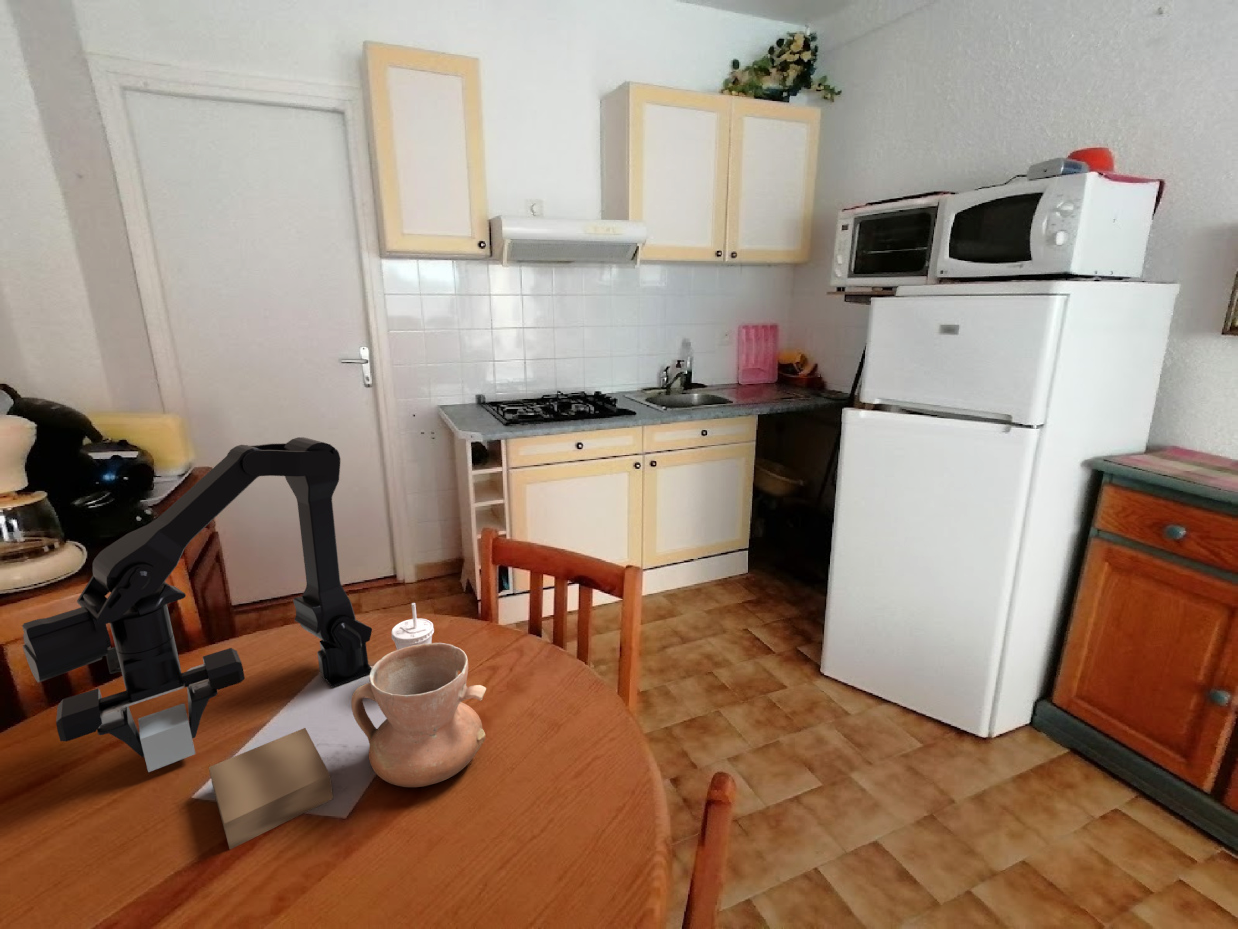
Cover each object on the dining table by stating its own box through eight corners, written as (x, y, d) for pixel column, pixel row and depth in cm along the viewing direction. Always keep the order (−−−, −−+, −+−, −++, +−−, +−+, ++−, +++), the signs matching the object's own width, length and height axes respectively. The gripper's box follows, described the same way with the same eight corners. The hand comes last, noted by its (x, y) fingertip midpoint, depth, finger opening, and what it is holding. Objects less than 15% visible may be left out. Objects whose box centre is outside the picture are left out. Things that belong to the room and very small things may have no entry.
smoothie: (425, 696, 93) (418, 615, 90) (388, 690, 95) (379, 611, 91) (445, 672, 99) (438, 596, 96) (410, 667, 101) (402, 592, 97)
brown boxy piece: (308, 752, 82) (305, 727, 81) (333, 801, 74) (329, 774, 73) (214, 793, 75) (208, 767, 74) (230, 852, 67) (224, 823, 66)
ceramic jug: (505, 725, 87) (498, 638, 83) (473, 805, 73) (464, 704, 69) (385, 720, 88) (375, 634, 85) (332, 797, 74) (316, 697, 71)
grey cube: (191, 733, 83) (184, 702, 82) (195, 754, 79) (188, 722, 78) (145, 750, 80) (138, 718, 78) (148, 772, 76) (140, 739, 75)
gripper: (222, 595, 87) (239, 688, 91) (48, 640, 75) (76, 744, 79) (235, 626, 79) (254, 726, 83) (42, 682, 67) (74, 795, 71)
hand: (169, 745), depth 79 cm, fingers closed on grey cube, 5 cm apart
